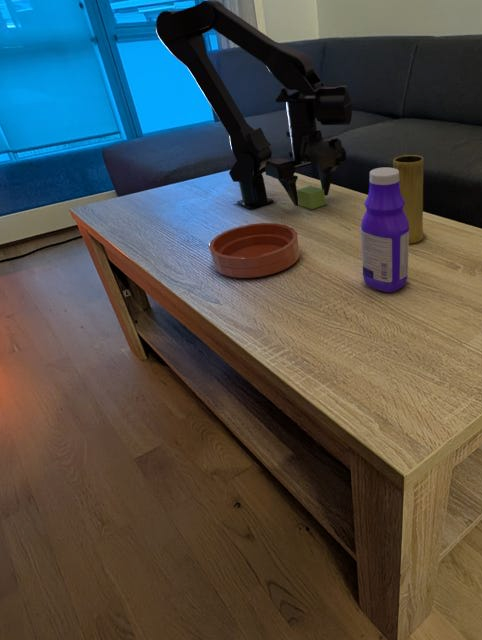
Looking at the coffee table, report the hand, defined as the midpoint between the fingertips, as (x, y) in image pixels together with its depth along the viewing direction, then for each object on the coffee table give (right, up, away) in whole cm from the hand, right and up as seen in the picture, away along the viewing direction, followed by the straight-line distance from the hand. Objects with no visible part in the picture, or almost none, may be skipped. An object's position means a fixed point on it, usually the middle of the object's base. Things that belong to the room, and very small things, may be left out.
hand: (311, 200), depth 103 cm
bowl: (-8, -19, -22) cm, 30 cm away
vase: (+20, -14, -18) cm, 30 cm away
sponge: (0, -1, +1) cm, 1 cm away
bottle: (+15, -25, -32) cm, 43 cm away
